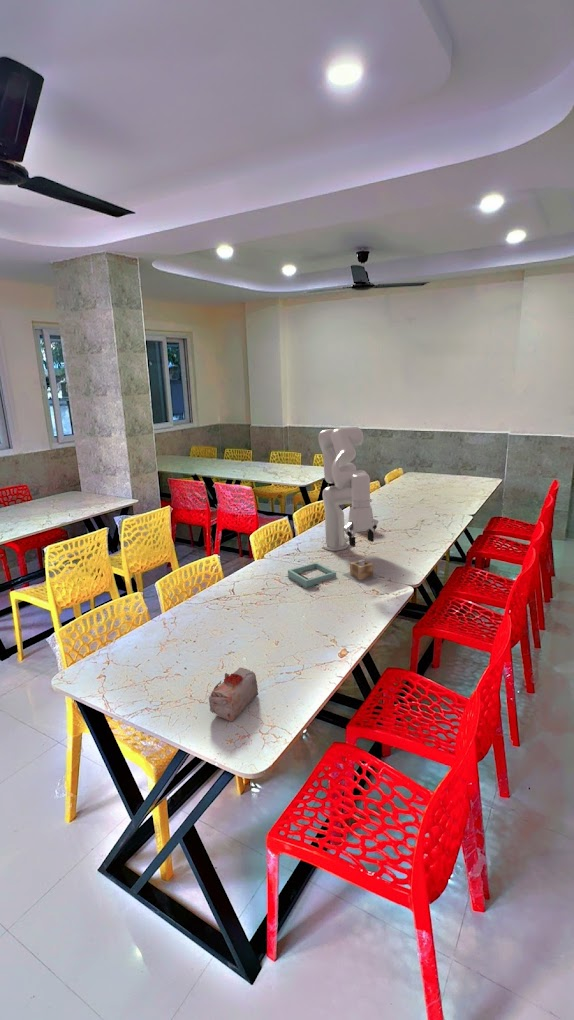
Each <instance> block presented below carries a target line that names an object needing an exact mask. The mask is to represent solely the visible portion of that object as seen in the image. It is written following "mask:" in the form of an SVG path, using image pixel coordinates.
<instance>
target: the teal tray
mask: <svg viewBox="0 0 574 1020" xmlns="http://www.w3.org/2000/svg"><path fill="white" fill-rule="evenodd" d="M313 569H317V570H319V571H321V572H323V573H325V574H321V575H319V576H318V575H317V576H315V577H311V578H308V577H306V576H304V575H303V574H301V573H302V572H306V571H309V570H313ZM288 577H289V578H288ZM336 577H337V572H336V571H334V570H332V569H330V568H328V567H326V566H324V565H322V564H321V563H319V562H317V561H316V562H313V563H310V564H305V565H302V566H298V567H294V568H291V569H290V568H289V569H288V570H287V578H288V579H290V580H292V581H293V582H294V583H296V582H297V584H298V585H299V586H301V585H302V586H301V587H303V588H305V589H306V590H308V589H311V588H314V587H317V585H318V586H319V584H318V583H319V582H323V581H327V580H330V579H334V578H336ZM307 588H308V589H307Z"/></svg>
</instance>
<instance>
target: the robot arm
mask: <svg viewBox="0 0 574 1020" xmlns="http://www.w3.org/2000/svg"><path fill="white" fill-rule="evenodd" d="M363 442H364V433H363V431H362V428H360V427H358V426H352V427H351V426H350V427H339V428H329V429H328V428H327V429H323V430H321V431H320V432H319V433H318V445H319V447H320V450H321V453H322V456H323V473H324V480H325V482H326V483H328V484H334V485H331V486H330V485H329V486H327V487H325V488H324V489H323V490H322V500H323V507H324V523H325V526H324V527H325V529H324V531H325V542H324V543H323V544H322V548H323V549H324V550H326V551H330V552H335V551H336V552H338V551H343V550H346V549H347V548H348V547H349V546H350V547H351V546H352V547H356V537H355V536H356V533H361V532H360V531H363V532H365V531H364V530H367V541H369V542H372V543H374V541H375V539H374V537H375V536H374V533H375V532H376V529H377V527H378V524H379V520H377V519H375V518H374V513H373V508H372V506H371V503H372V502H373V501H372V500H373V499H372V498H371V477H370V475H369V474H368V473H367V471H365V470H363V469H358V470H357V467H356V465H355V464H354V463H352V461H354V459H356V456H357V452H356V449H355V446H361V445H362V444H363ZM350 504H352V507H350V506H349V511H348V522H347V524H346V525H345V512H344V510H343V509H342V508H341V507H340V506H341V505H350ZM345 534H346V535H347V536H348V537H347V536H346V535H345ZM348 543H349V544H348Z"/></svg>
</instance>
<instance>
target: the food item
mask: <svg viewBox="0 0 574 1020" xmlns="http://www.w3.org/2000/svg"><path fill="white" fill-rule="evenodd" d="M258 695H259V689H258V680H257V676H256V673H255V672H254V671H252V670H250V669H247V668H244V667H238V669H237V670H236V671H234V672H232V673H231V674H230V673H227V672H225V673H224V679H223V681H222V680H220V681H219V682H218V683H217V684H216V685H215V686H214V688H213V690H212V691H211V693H210V695H209V696H208V702H209V711H210V712H211V713H212V714H215V715H217V716H218V717H219V718H220V719H221V718H223V719H225V720H227V721H229V722H233V721H235V719H236V718H237V717H238V716H239V715H240V714H241V713H242V712H243V711H244V710H245V709H246V708H247V706H249V705H250V704H251V703H252V701H254V699H256V697H257V696H258Z"/></svg>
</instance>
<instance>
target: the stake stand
mask: <svg viewBox="0 0 574 1020" xmlns="http://www.w3.org/2000/svg"><path fill="white" fill-rule="evenodd" d="M360 560H361V561H359V560H357V561H358V563H359V565H360V566H362V565H365V560H366V559H363V560H362V559H360ZM342 576H344V577H346V578H348V579H350V580H352V581H354V582H356V583H358V584H359V585H360V584H362V583H365V582H369V581H372V580H375V579H379V578H382V577H383V576H382V575H380V574H378V573H375V572H374V576H372V577H369V578H366V579H362V580H359V579H357V578H355V577H353V576H351V575H350V571H349V572H347V573H342Z"/></svg>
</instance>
